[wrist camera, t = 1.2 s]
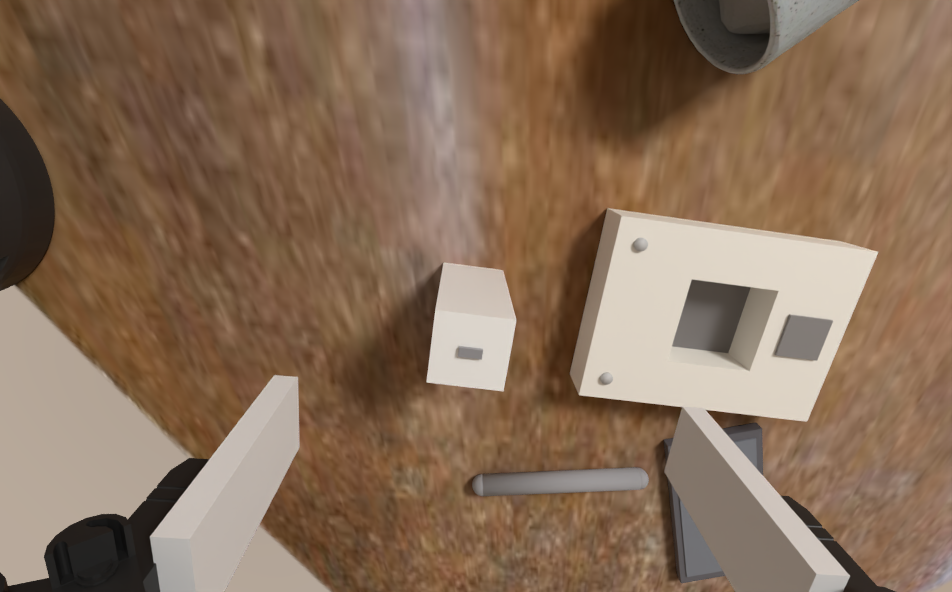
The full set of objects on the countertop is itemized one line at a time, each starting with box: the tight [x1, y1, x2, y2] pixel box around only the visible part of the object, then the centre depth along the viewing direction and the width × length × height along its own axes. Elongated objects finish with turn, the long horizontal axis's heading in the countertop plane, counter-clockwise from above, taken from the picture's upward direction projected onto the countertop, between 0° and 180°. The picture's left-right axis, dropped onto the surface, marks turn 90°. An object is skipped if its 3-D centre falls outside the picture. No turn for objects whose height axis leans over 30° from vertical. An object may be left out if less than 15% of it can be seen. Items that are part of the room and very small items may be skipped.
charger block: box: [427, 263, 516, 391], centre depth 28 cm, size 4×4×9 cm
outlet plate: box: [570, 208, 878, 421], centre depth 32 cm, size 16×12×3 cm
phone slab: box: [664, 423, 763, 583], centre depth 38 cm, size 7×14×1 cm, turn 12°
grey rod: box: [472, 468, 649, 496], centre depth 37 cm, size 14×2×2 cm, turn 92°
